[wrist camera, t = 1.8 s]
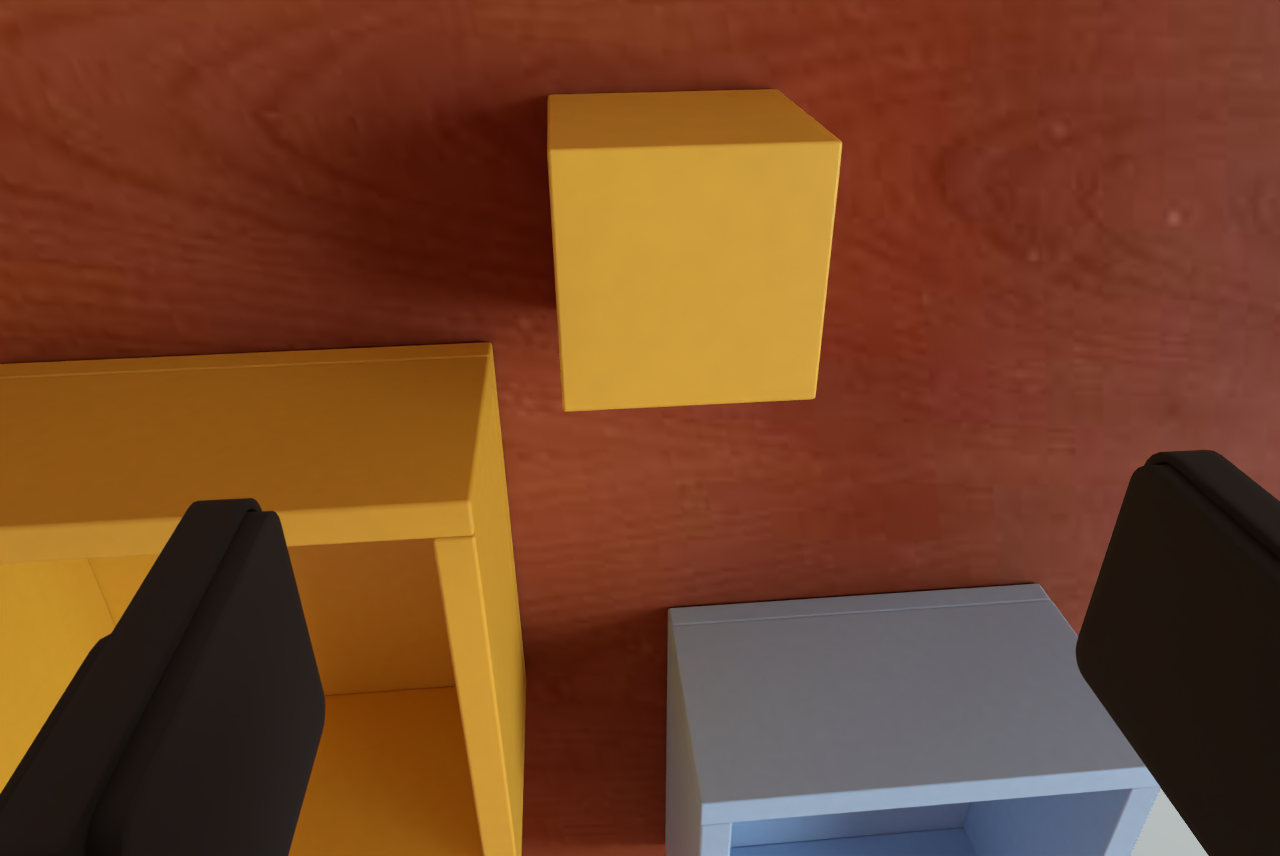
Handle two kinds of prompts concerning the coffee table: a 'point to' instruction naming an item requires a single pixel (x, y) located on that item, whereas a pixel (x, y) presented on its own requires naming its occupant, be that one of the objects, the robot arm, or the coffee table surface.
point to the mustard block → (689, 246)
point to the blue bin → (893, 731)
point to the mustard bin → (292, 561)
